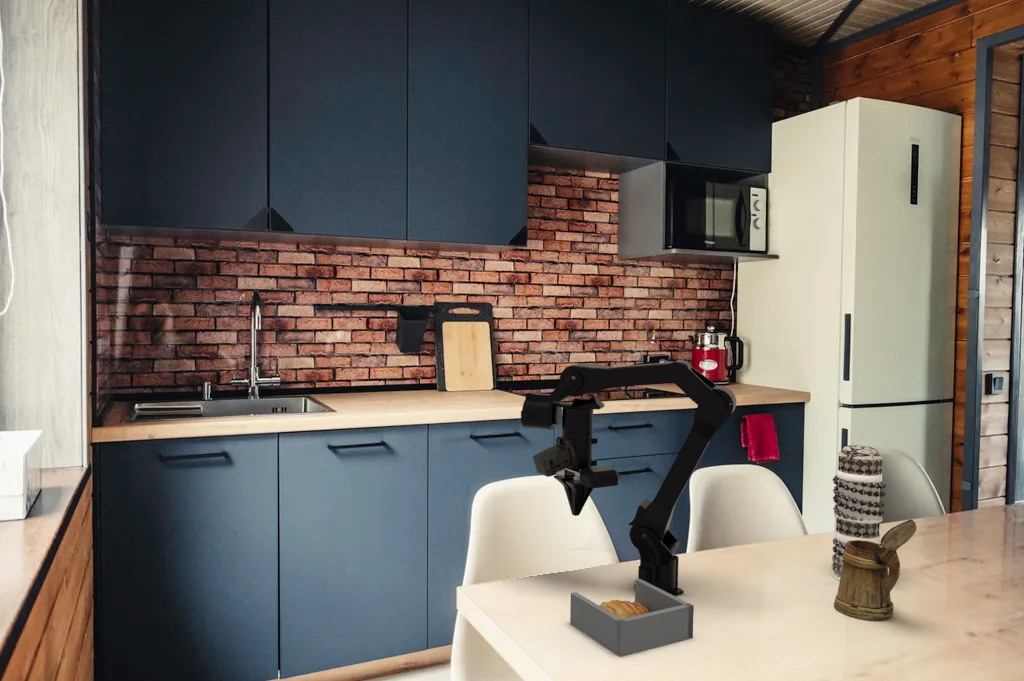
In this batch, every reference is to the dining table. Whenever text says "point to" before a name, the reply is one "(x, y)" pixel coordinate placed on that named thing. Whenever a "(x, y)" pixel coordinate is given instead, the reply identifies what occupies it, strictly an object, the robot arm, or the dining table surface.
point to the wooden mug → (871, 574)
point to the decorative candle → (856, 499)
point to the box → (635, 621)
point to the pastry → (624, 608)
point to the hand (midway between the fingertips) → (575, 515)
